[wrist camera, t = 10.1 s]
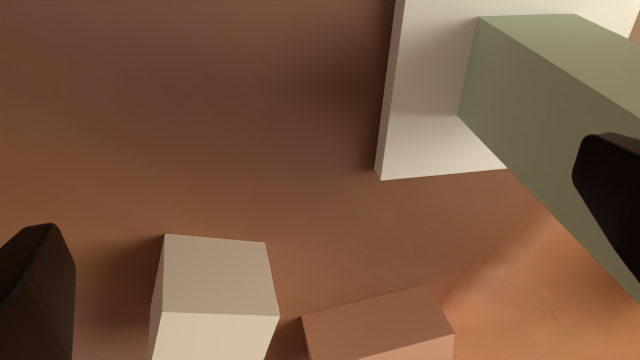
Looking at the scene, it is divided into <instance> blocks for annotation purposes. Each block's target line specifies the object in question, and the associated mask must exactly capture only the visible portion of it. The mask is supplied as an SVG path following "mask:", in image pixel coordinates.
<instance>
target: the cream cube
mask: <svg viewBox="0 0 640 360" xmlns="http://www.w3.org/2000/svg"><path fill="white" fill-rule="evenodd" d="M279 318H280V314H279V309H278V304H277V299H276V294H275V290H274V285H273V280H272V275H271V270H270V265H269V261H268V256H267V251H266V246H265V243H263V242H252V241H241V240H230V239H218V238H207V237H196V236H185V235H174V234H165V236H164V241H163V246H162V251H161V256H160V261H159V266H158V271H157V276H156V281H155V286H154V292H153V297H152V302H151V309H150V326H149V343H148V360H263V359H264V357H265V354H266V352H267V349H268V346H269V344H270V341H271V339H272V336H273V333H274V331H275V328H276V326H277V323H278V320H279Z"/></svg>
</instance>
